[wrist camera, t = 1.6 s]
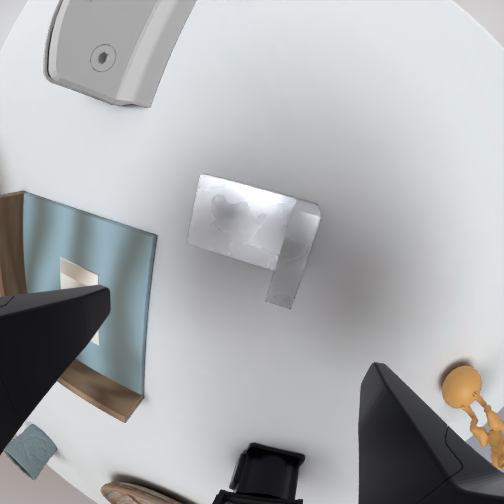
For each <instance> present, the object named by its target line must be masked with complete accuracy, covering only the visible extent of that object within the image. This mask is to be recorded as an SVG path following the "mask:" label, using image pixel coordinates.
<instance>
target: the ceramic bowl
mask: <svg viewBox="0 0 504 504" xmlns="http://www.w3.org/2000/svg"><path fill="white" fill-rule="evenodd" d="M101 493H102V494H103V496H104V497H105V498H106V499H107V500H108V501H109V502H110V503H111V504H182V503H180V502H178V501H176V500H174V499H172V498H170V497H167V496H165V495H163V494H161V493H158V492H156V491H153V490H151V489H148V488H145V487H142V486H139V485H135V484H130V483H124V482H111V483H108V484H105V485H104V486H103V487H102V488H101Z"/></svg>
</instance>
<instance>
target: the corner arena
mask: <svg viewBox="0 0 504 504" xmlns="http://www.w3.org/2000/svg"><path fill="white" fill-rule="evenodd" d="M156 238H157V235H155V234H151V233H148V232H145V231H142V230H139V229H136V228H133V227H130V226H127V225H124V224H121V223H118V222H114V221H111V220H108V219H105V218H102V217H99V216H96V215H93V214H90V213H87V212H84V211H81V210H78V209H75V208H72V207H69V206H66V205H63V204H60V203H57V202H54V201H51V200H48V199H45V198H43V197H40V196H37V195H34V194H31V193H28V192H25V191H19V192H13V193H8V194H3V195H0V297H2V296H11V295H15V296H16V295H20V294H28V293H36V292H44V291H52V290H60V289H68V288H76V287H84V286H91V285H103V286H105V287H108V288H109V289H110V295H111V311H110V314H109V316H108V317H107V319H106V320H105V321H104V323H103V324H102V325H101V327H100V328H99V330H98V331H97V332H96V334H95V335H94V337H93V338H92V340H91V341H90V342H89V344H88V345H87V346H86V347H85V348H84V350H83V351H82V352H81V353H80V354H79V355H78V356H77V358H76V359H75V360H74V361H73V362H72V363H71V365H70V366H69V367H68V368H67V369H66V371H65V372H64V373H63V374H62V375H61V377H60V378H59V379H58V380H57V382H59V383H60V384H62V385H63V386H64V387H66V388H67V389H69V390H70V391H72V392H73V393H75V394H76V395H78V396H79V397H81V398H83V399H84V400H86V401H87V402H89V403H91V404H92V405H94V406H95V407H97V408H99V409H101V410H102V411H104V412H106V413H107V414H109V415H111V416H113V417H115V418H116V419H118V420H120V421H122V422H124V423H126V422H127V420H128V419H129V418H130V416H131V415H132V414H133V412H134V411H135V410H136V408H137V407H138V405H139V404H140V403H141V401H142V400H143V399H144V365H145V344H146V329H147V316H148V304H149V294H150V284H151V276H152V267H153V259H154V252H155V245H156Z"/></svg>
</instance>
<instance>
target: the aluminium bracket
mask: <svg viewBox="0 0 504 504" xmlns="http://www.w3.org/2000/svg"><path fill="white" fill-rule="evenodd" d="M320 219H321V215H320V212H319V208H318V204H315V203H312V202H308V201H305V200H302V199H298V198H295V197H292V196H288V195H285V194H281V193H278V192H274V191H271V190H267V189H263V188H260V187H256V186H252V185H248V184H245V183H241V182H237V181H233V180H229V179H225V178H221V177H217V176H213V175H209V174H201V175H200V179H199V184H198V188H197V193H196V197H195V202H194V207H193V212H192V217H191V222H190V227H189V232H188V237H187V242H186V243H187V244H190V245H193V246H196V247H199V248H202V249H206V250H209V251H212V252H215V253H218V254H222V255H225V256H228V257H231V258H234V259H238V260H241V261H244V262H247V263H250V264H254V265H257V266H260V267H263V268H267V269H270V270H273V271H274V274H273V277H272V281H271V284H270V287H269V291H268V294H267V297H266V300H265V301H267V302H270V303H273V304H276V305H280V306H283V307H286V308H289V309H291V307H292V304H293V301H294V298H295V296H296V293H297V290H298V287H299V284H300V281H301V278H302V275H303V272H304V269H305V266H306V263H307V260H308V257H309V254H310V251H311V248H312V244H313V241H314V238H315V235H316V232H317V229H318V225H319V222H320Z"/></svg>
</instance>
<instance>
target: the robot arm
mask: <svg viewBox="0 0 504 504" xmlns="http://www.w3.org/2000/svg"><path fill="white" fill-rule="evenodd" d="M110 311H111V295H110V289H109V288H108V287H105V286H103V285H91V286H84V287H76V288H68V289H60V290H52V291H44V292H36V293H28V294H20V295H16V296H15V295H11V296H2V297H0V455H1V453H2V452H3V450H4V449H5V448H6V446H7V445H8V443H9V442H10V441H11V439H12V438H13V437H14V435H15V434H16V432H17V431H18V430H19V428H20V427H21V426H22V424H23V423H24V422H25V420H26V419H27V418H28V416H29V415H30V414H31V412H32V411H33V410H34V409H35V407H36V406H37V405H38V404H39V402H40V401H41V400H42V399H43V397H44V396H45V395H46V394H47V392H48V391H49V390H50V389H51V387H52V386H53V385H54V384H55V383H56V381H57V380H58V379H59V378H60V377H61V375H62V374H63V373H64V372H65V371H66V369H67V368H68V367H69V366H70V365H71V363H72V362H73V361H74V360H75V359H76V358H77V356H78V355H79V354H80V353H81V352H82V351H83V350H84V348H85V347H86V346H87V345H88V344H89V342H90V341H91V340H92V338H93V337H94V335H95V334H96V332H97V331H98V330H99V328H100V327H101V325H102V324H103V323H104V321H105V320H106V319H107V317H108V316H109V314H110ZM358 436H359V502H358V504H504V473H503V472H501V471H500V470H498V469H497V468H496V467H495V466H493V465H492V464H491V463H490V462H488V461H487V460H486V459H485V458H484V457H482V456H481V455H480V454H479V453H478V452H476V451H475V450H474V449H473V448H472V447H471V446H469V445H468V444H467V443H466V442H465V441H464V440H463V439H462V438H461V437H460V436H458V435H457V434H456V433H455V432H454V431H453V430H452V429H451V428H450V427H449V426H448V427H447V424H446V423H445V422H444V421H443V420H442V419H441V418H440V417H439V416H438V415H437V414H436V413H435V412H434V411H433V410H432V409H431V408H430V407H429V406H428V405H427V404H426V403H425V402H424V401H423V400H422V399H421V398H420V397H419V396H418V395H417V394H415V393H414V392H413V391H412V390H411V389H410V388H409V387H408V386H407V385H406V384H405V383H404V382H403V381H402V380H401V379H400V378H399V377H398V376H397V375H396V374H395V373H394V372H393V371H392V370H391V369H390V368H389V367H388V366H387V365H385V364H383V363H377V362H374V363H372V364H371V366H370V368H369V370H368V372H367V374H366V375H365V377H364V379H363V381H362V384H361V391H360V408H359V423H358ZM304 461H305V456H304V455H299V454H295V453H290V452H285V451H281V450H277V449H272V448H268V447H264V446H261V445H257V444H250V445H249V447H248V449H247V451H246V453H245V454H244V453H243V454H241V455H240V457H239V459H238V461H237V463H236V466H235V469H234V473H233V476H232V479H231V482H230V485H229V488H230V489H232V490H233V492H228V491H226V490H220V492H219V494H217V495H216V497H215V500H214V502H213V503H212V504H303V499H298V500H295V495H296V488H297V480H298V473H299V467H300V466H301V464H302V463H303V462H304Z"/></svg>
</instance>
